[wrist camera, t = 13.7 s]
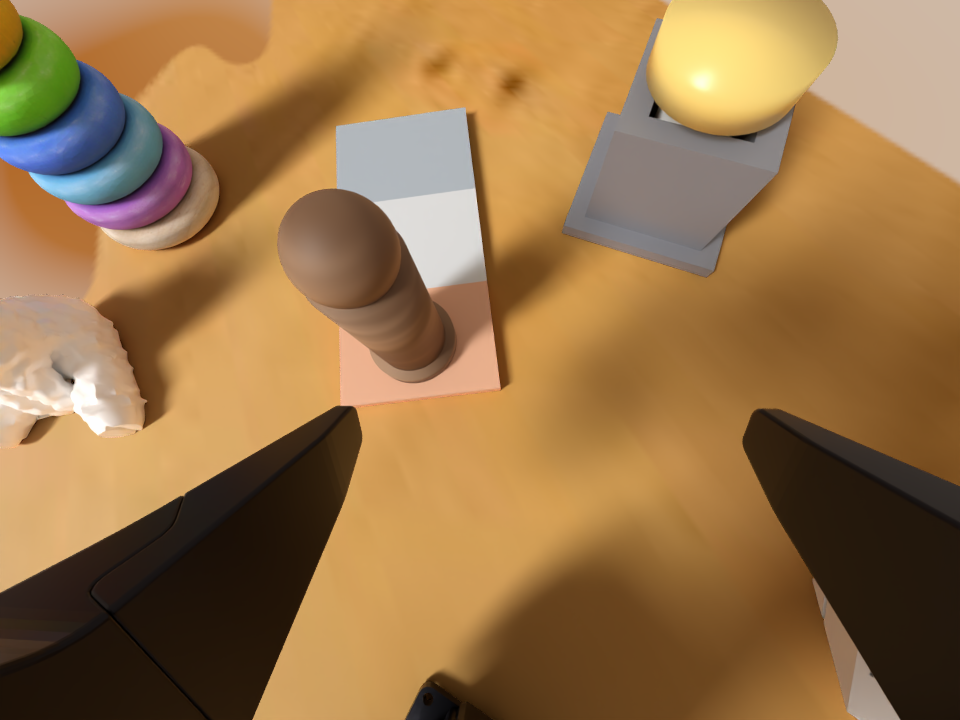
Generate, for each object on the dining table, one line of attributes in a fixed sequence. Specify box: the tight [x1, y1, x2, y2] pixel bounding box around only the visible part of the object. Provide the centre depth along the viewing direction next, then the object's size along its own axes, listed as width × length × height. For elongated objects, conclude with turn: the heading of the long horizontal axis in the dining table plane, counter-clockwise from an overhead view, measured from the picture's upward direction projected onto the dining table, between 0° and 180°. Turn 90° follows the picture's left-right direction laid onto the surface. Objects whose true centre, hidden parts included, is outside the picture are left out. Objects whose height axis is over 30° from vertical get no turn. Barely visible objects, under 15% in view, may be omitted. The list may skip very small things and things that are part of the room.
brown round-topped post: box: [277, 189, 457, 383], centre depth 15 cm, size 5×5×12 cm
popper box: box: [562, 18, 795, 277], centre depth 20 cm, size 9×9×7 cm
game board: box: [336, 108, 501, 408], centre depth 23 cm, size 20×9×1 cm, turn 6°
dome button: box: [646, 0, 838, 137], centre depth 18 cm, size 6×6×7 cm
